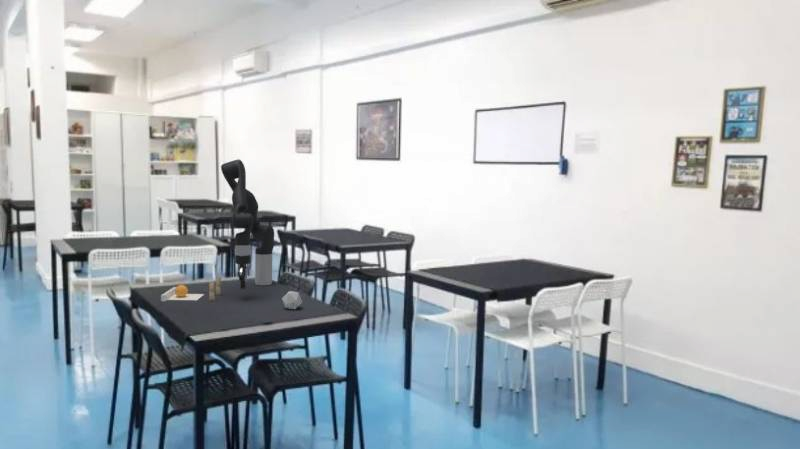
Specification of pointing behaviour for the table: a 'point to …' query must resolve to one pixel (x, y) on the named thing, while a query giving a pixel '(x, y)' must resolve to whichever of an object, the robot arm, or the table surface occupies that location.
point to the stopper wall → (168, 294)
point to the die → (292, 300)
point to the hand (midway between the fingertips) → (243, 288)
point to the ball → (181, 291)
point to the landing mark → (187, 297)
